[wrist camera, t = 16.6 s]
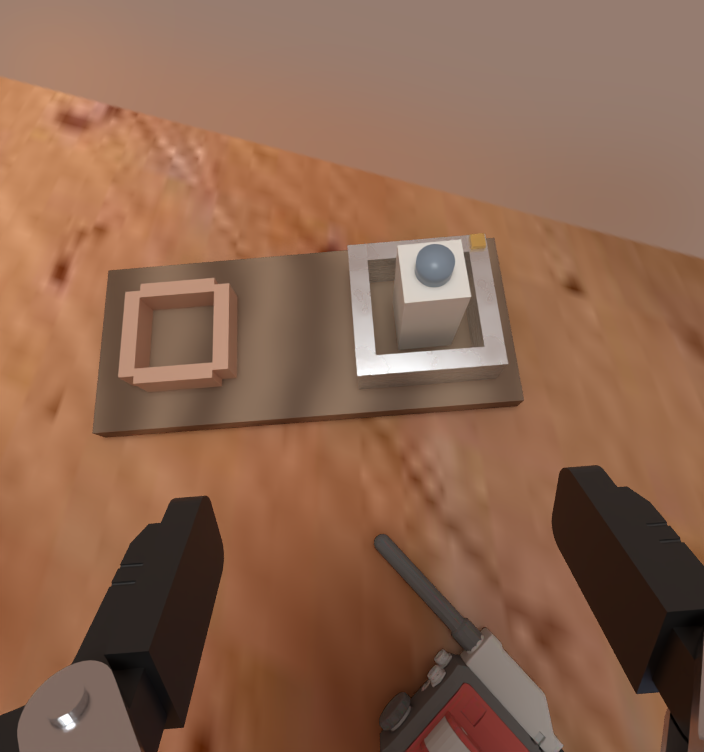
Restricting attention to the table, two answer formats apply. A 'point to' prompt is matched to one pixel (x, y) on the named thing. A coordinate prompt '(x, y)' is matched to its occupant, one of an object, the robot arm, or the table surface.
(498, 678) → the walkie-talkie
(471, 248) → the frame
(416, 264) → the plug
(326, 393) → the panel
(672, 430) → the table surface
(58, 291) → the table surface
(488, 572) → the table surface
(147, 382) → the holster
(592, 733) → the table surface
